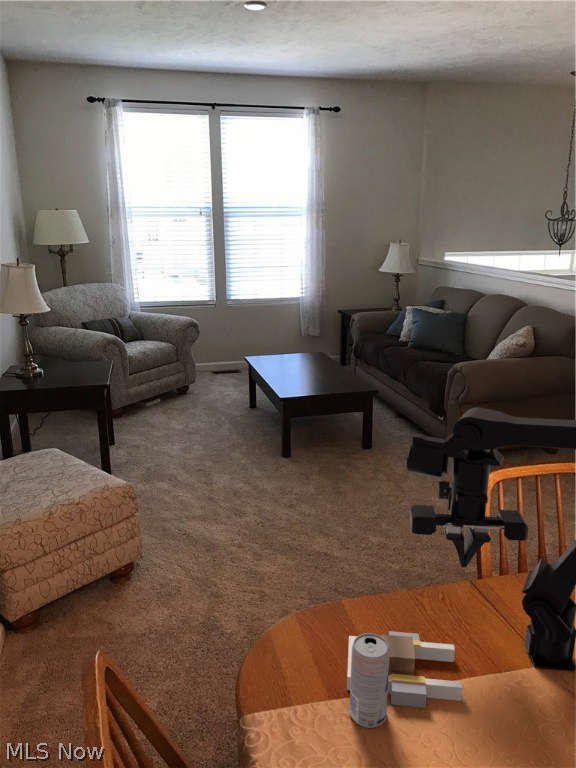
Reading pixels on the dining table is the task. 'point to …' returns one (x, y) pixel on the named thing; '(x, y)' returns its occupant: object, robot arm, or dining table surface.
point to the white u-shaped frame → (418, 687)
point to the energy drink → (369, 680)
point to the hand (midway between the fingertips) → (462, 566)
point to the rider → (400, 654)
